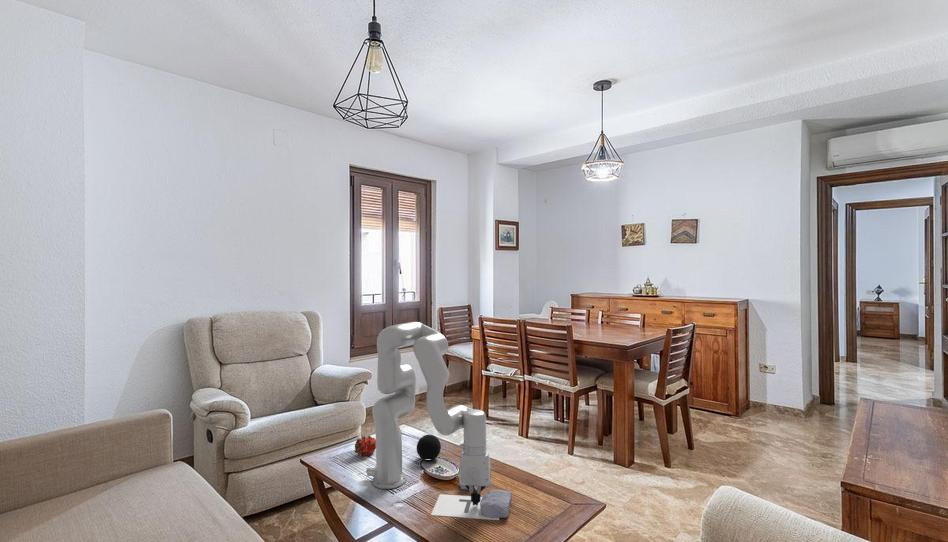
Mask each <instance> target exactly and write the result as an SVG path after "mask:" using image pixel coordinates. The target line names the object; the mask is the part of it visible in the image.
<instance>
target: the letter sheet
mask: <svg viewBox="0 0 948 542" xmlns="http://www.w3.org/2000/svg"><path fill="white" fill-rule="evenodd" d="M482 497H483V496H481V499H482ZM480 502H481V500H480ZM480 502H478V506H476V505H473V501H471V495H458V494H455V495H454V494H442V493H441V494H439V495H438V497H437V499H436V502H435V504H434V507H433V509H432V511H431V513H430V516H431V517H432V516H433V517H434V516H435V517H449V518H461V519H477V520H491V521H492V520H493V521H500V518H490V517H487V516H483V515H482V513H481V510H480Z"/></svg>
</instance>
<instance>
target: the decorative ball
mask: <svg viewBox="0 0 948 542" xmlns="http://www.w3.org/2000/svg"><path fill="white" fill-rule="evenodd" d="M441 449H442V445H441V442H440V440H439V438H438V437H437V436H435V435H433V434H424V435H423V436H421V437H420V438H419V440H418V441H417V444H416V452H417V454H418V456H419V457H420V459H422V460H424V461H426V460H425V459H433V460H435V459H437V457H438V456H439V455H440V453H441Z"/></svg>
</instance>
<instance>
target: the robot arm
mask: <svg viewBox="0 0 948 542" xmlns="http://www.w3.org/2000/svg"><path fill="white" fill-rule="evenodd" d="M409 346H412V351H413V354H414V356H415V359H416V360H417V363H418V365H419V368H420V370H421V373H422V375H423V377H424V380H425V382H426V386H427V387H426V394H425V395H426V399H425V400H426V401H425V402H426V409H427V412H428V415H429V418H430V420H431V422H432V425H433V427H434V428H435V430H436V431H437V432H438V433H439V434H440V435H442V436H450V435H452V434H454V433H456V432H457V431H459V430H461V429H462V430H463V443H461V444H459V449H462V451H461V454H460V461H459V476H458V477H459V479H458V480H459V485H460V487H461V486H464V487H466V488H467V489H466V490H468V491H469V493H470V496H471V501H473V505H476V506H478V502H480V500H481V497H482V496H481V492H483V490H485V489H488V488H491V487H492V484H493V483H492V469H491V468H492V467H491V459H490V454H489V453H490V452H489V451H488V450H487V414H486V412H485V411H484V410H481V409H475V408H470V407H468V406H466V405H463V404H456V405H454V406H452V407H450V408H447V406H446V402H445V400H444V399H445V398H444V390H445V387H446V384H447V382H448V381H449V378H450V375H451V373H450V371H449V368H448V366H447V365H446V362H445V359H444V357H443V356H444V355H445V354H446V353H447V352H448V350H449V341H448V339H447V338H446V337H445V335H444V334H443V333H440V332H439V331H437V330H435V329H434V328H432V327H430V326H428V325H425V324H424V323H422V322H419V321H409V322H404V323H398V324H393V325H390V326H389V325H388V326H387V327H385V328H383V329H382V330H380V332H379V334H378V335H377V338H376V350H377V374H376V376H377V377H376V378H377V379H376V380H377V381H376V384H377V389H378V391H379V392H380V393H381V394H383V395H386V396H384V397H381V398H380V399H378V400H377V401H376V402H375V403H374V404H373V407H372V411H371V412H372V418H373V422H374V429H375V431H374V432H375V440H376V449H375V462H376V465H375V466H376V467H375V468H373V467H367V468H366V470H365V472H366V476H367V477H373V478H372V481H371V484H372V486H373V487H374V488H375V487H376V488H378V489H382V490H389V489H395V488H399V487H401V486H402V485H404V484H405V483H406V482H407V481H408V480H407V479H408V478H407V477H408V476H407V474H406V473H405V472H403V446H402V445H403V442H402V441H403V439H402V436H403V435H402V430H401V427H400V426H399V422H398V420H400V419H402V418H404V417H407V416H408V415H410V414H411V413H412V412H413V411H414V408H415V405H416V387H417V386H416V385H417V383H416V381H417V379H416V373H415V371H414V369H413V367H412V366H411V365H410V364H407V363H402V355H401V353H400V350H399V349H401V348H404V347H409ZM474 486H475V487H474Z"/></svg>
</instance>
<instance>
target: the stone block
mask: <svg viewBox="0 0 948 542" xmlns="http://www.w3.org/2000/svg"><path fill="white" fill-rule="evenodd" d="M512 495H513V494H512V491H507V490H503V489H492V490H491V489H490V490H488V491H486V492H484V495H483V496H481V497H482V499H481V502H480V510H481V513H482V515H483V516H487V517H490V518H499V519H506V518H508V517H509V515H510V514H509V513H510V509H511V504H512V498H513V496H512Z"/></svg>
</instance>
